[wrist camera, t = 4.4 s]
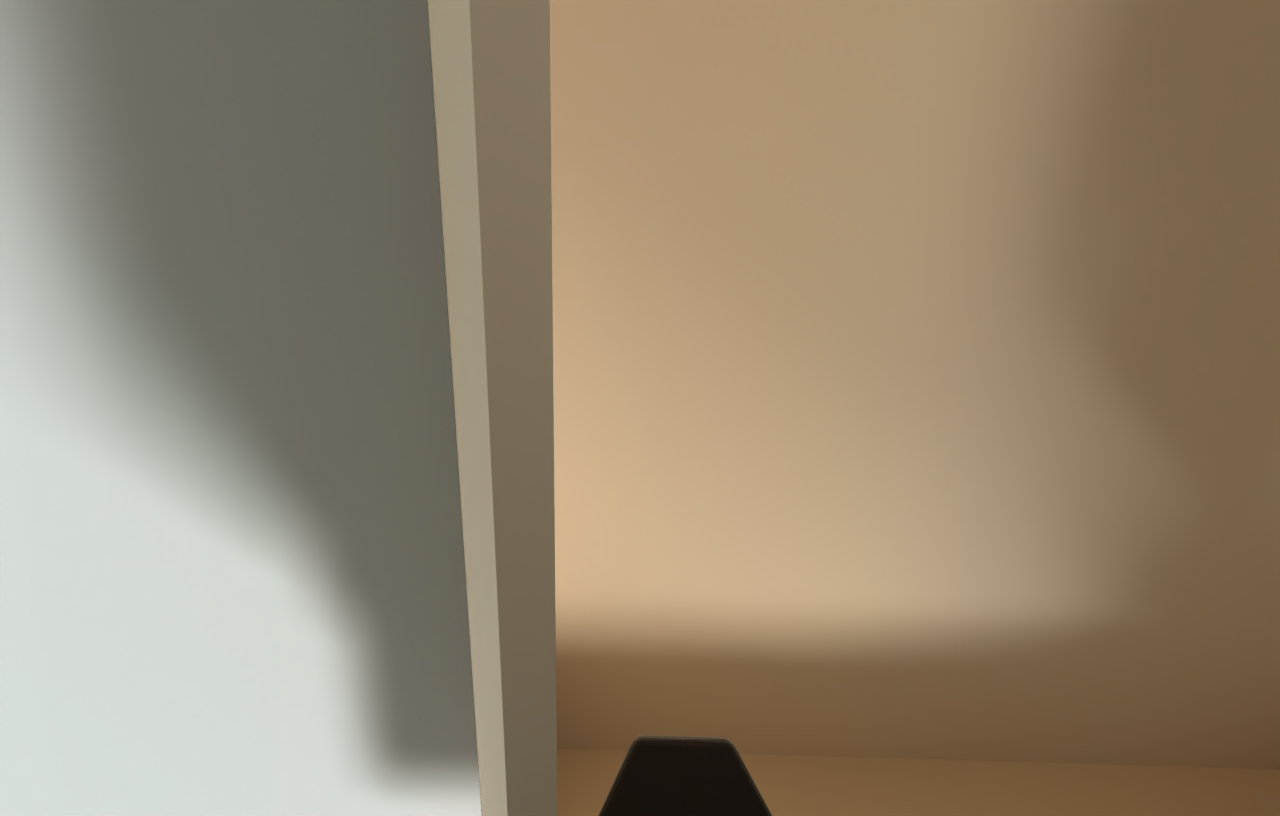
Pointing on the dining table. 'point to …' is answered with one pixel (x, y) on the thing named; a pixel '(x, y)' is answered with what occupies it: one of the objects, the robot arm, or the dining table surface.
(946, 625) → the carton
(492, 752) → the flap
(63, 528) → the dining table surface
